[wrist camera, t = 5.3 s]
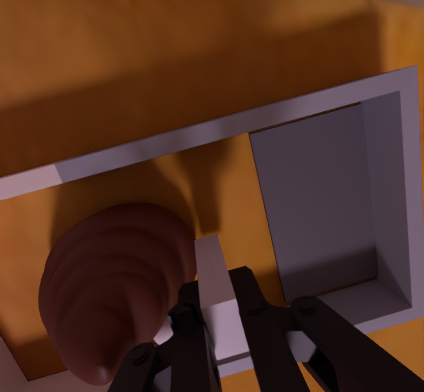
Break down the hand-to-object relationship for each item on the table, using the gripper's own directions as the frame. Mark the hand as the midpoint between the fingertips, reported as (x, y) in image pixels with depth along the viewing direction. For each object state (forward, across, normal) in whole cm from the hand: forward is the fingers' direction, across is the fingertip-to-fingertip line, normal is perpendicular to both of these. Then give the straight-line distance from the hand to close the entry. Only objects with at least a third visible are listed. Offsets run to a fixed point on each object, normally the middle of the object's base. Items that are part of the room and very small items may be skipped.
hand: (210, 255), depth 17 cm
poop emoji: (+2, -6, 0) cm, 6 cm away
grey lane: (+2, +3, 0) cm, 4 cm away
